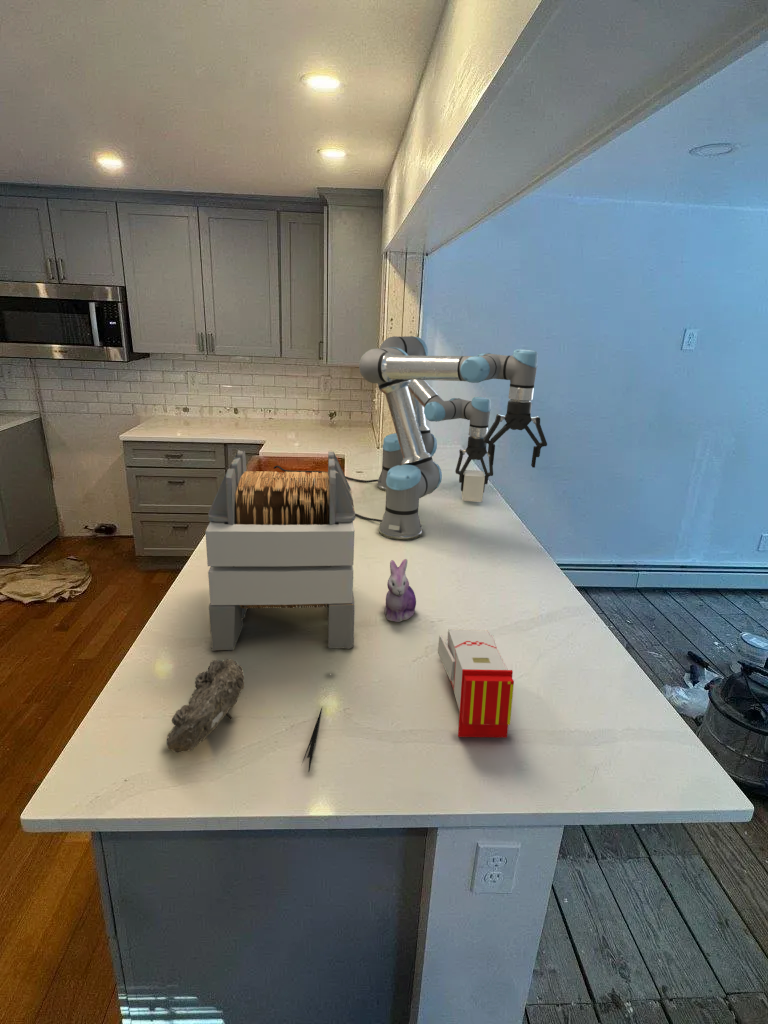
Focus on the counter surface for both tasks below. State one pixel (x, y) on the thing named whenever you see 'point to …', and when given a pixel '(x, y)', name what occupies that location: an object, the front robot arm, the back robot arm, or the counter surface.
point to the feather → (313, 740)
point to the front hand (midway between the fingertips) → (512, 465)
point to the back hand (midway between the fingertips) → (472, 490)
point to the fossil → (206, 705)
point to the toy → (478, 682)
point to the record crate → (281, 548)
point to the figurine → (399, 594)
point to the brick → (473, 485)
